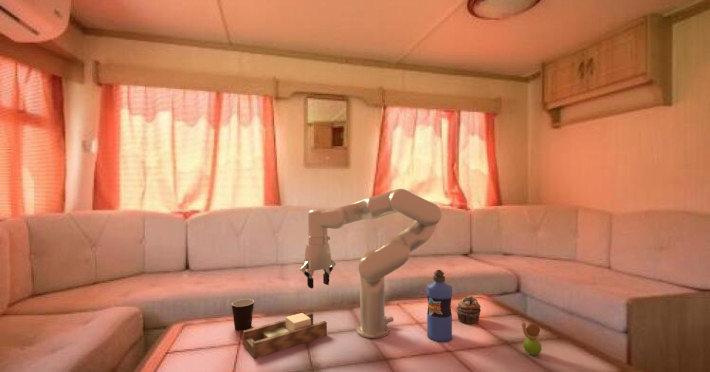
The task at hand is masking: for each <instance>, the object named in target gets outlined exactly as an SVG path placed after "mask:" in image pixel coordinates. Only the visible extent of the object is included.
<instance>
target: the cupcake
mask: <svg viewBox="0 0 710 372" xmlns="http://www.w3.org/2000/svg"><path fill="white" fill-rule="evenodd" d="M457 305H458V306H456V309H455V310H456V314H457V319H458V322H459V323H461V324H463V325H466V326H474V325H478V324H479V319H480V315H481V305H480V303H479V302H478V299H476V298H474V297H473V296H470V297H468V296H464V298H462V299H461V300H460V301H459V302H458V304H457Z"/></svg>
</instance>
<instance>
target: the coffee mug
mask: <svg viewBox="0 0 710 372" xmlns="http://www.w3.org/2000/svg"><path fill="white" fill-rule="evenodd" d="M254 304H255V300H254V299H251V298H242V299H237V300H235V301H232V302H231V309H232V310H231V311H232V316H233V325H234V330H236V331H242V332H243V331H245V330H249V329H252V323H253V314H254V307H255V306H254Z"/></svg>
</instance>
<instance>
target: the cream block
mask: <svg viewBox="0 0 710 372" xmlns="http://www.w3.org/2000/svg"><path fill="white" fill-rule="evenodd" d="M305 314H306V313H305ZM305 314H304V313H303V312H301V313H296V314H292V315H289V316H285V320H286V328H287V329H288V330H289V331H292V330H296V329H299V328H302V327H306V326H309V325H311V318H309V317H308V316H306V315H305Z"/></svg>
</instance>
